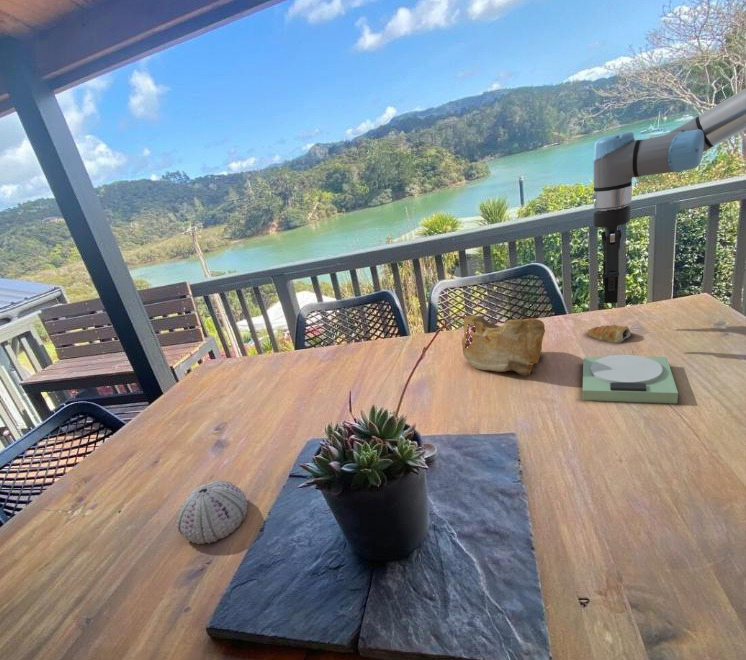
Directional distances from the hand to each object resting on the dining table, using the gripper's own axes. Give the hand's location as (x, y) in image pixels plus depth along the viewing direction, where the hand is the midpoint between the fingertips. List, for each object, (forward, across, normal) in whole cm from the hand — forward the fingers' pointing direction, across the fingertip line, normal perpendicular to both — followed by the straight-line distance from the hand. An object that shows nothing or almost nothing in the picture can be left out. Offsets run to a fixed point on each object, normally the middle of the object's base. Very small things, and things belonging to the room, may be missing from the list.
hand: (609, 293), depth 110 cm
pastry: (+13, 0, 0) cm, 13 cm away
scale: (+13, +25, +2) cm, 28 cm away
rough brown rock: (+13, +15, -22) cm, 29 cm away
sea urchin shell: (+13, +83, -67) cm, 107 cm away
